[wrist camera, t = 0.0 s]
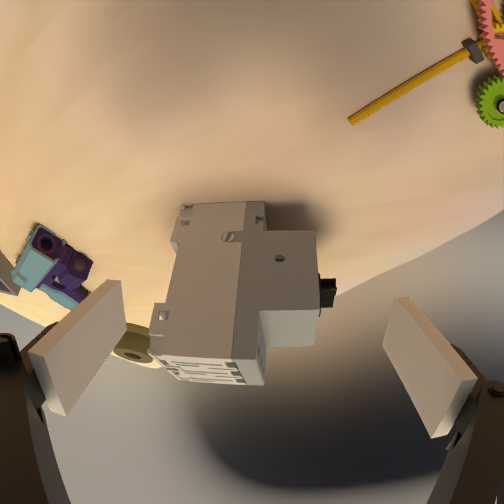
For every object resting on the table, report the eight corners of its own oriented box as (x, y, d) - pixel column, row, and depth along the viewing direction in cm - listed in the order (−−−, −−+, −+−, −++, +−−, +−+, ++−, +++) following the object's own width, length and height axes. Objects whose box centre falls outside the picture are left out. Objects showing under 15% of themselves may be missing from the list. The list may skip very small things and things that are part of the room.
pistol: (85, 299, 51) (16, 259, 41) (125, 273, 42) (37, 219, 33) (79, 319, 48) (7, 280, 39) (118, 298, 40) (24, 244, 31)
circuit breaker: (324, 249, 34) (333, 384, 25) (198, 251, 36) (176, 379, 27) (329, 199, 29) (347, 358, 19) (180, 205, 30) (143, 352, 21)
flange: (181, 367, 62) (136, 341, 51) (130, 366, 67) (84, 341, 56) (184, 347, 65) (141, 317, 54) (134, 348, 70) (90, 321, 59)
